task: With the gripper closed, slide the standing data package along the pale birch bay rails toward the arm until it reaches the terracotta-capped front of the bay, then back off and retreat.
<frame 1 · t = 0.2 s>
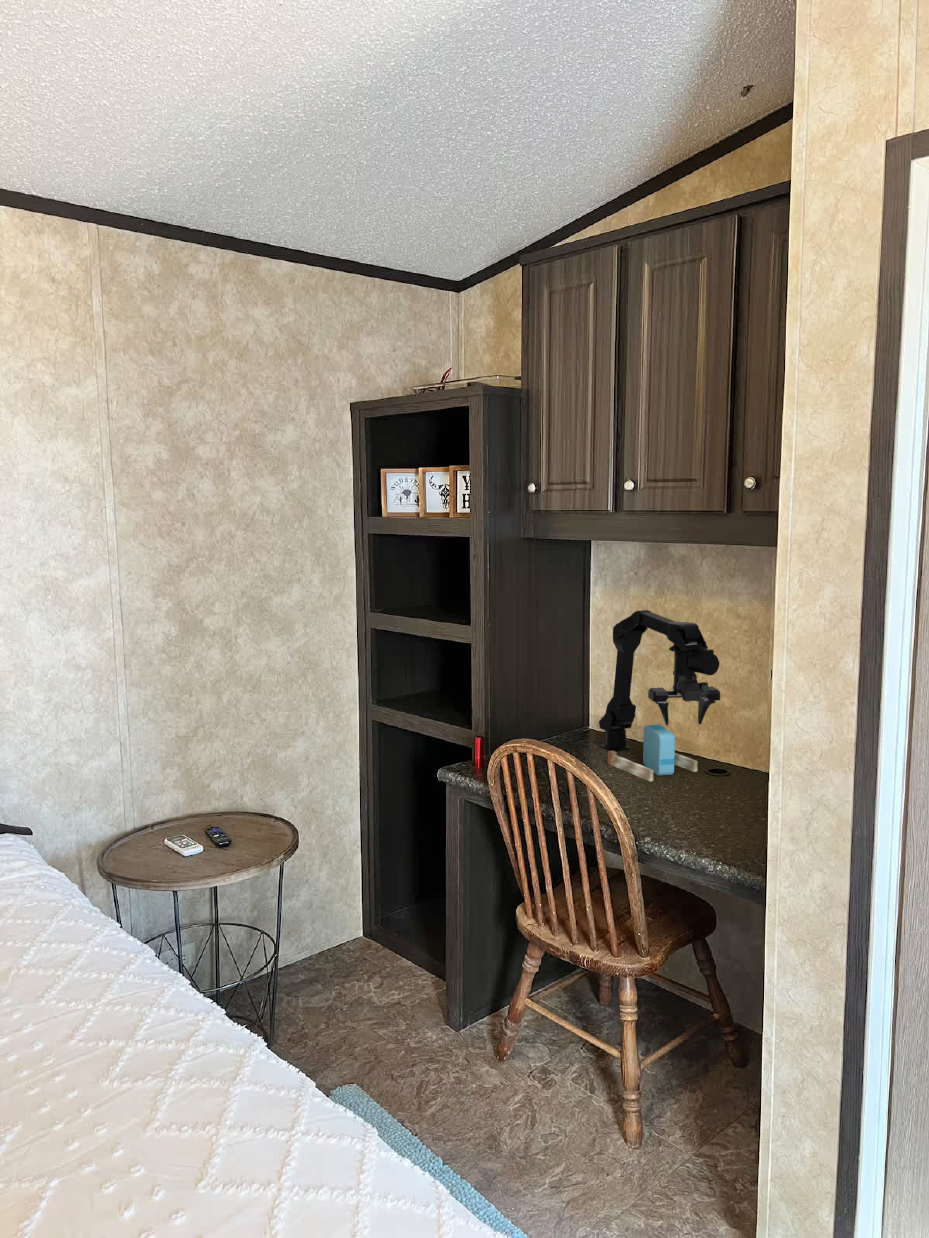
hand: (683, 724, 255), 15 cm above the table, fingers open, 9 cm apart
data package: (658, 770, 262), on the table
bay: (653, 767, 264), on the table
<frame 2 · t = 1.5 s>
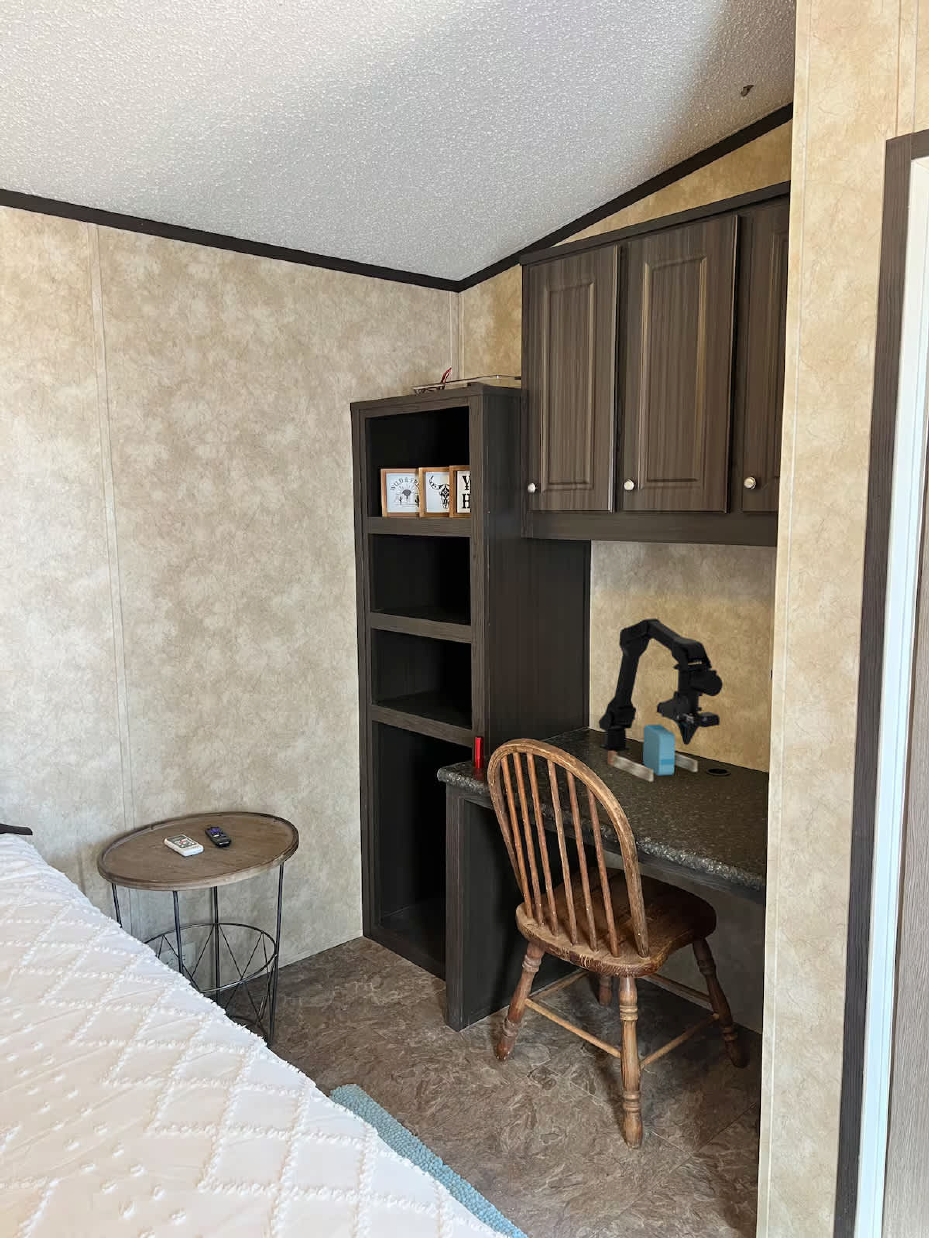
hand: (686, 744, 251), 10 cm above the table, fingers closed
nothing on the table moved.
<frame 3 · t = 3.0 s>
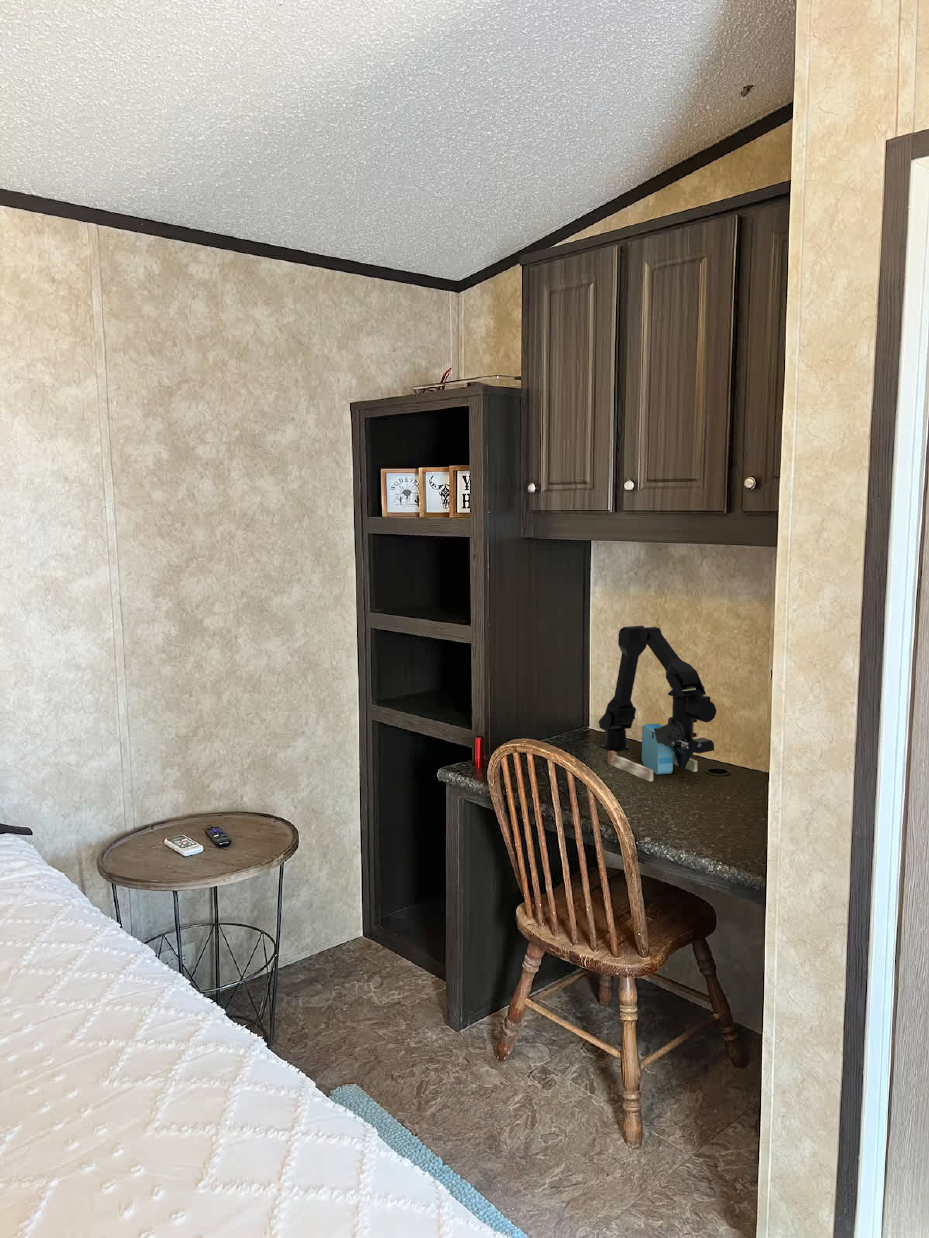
hand: (681, 769, 254), 3 cm above the table, fingers closed, pressing on data package
data package: (656, 769, 263), on the table, touching gripper
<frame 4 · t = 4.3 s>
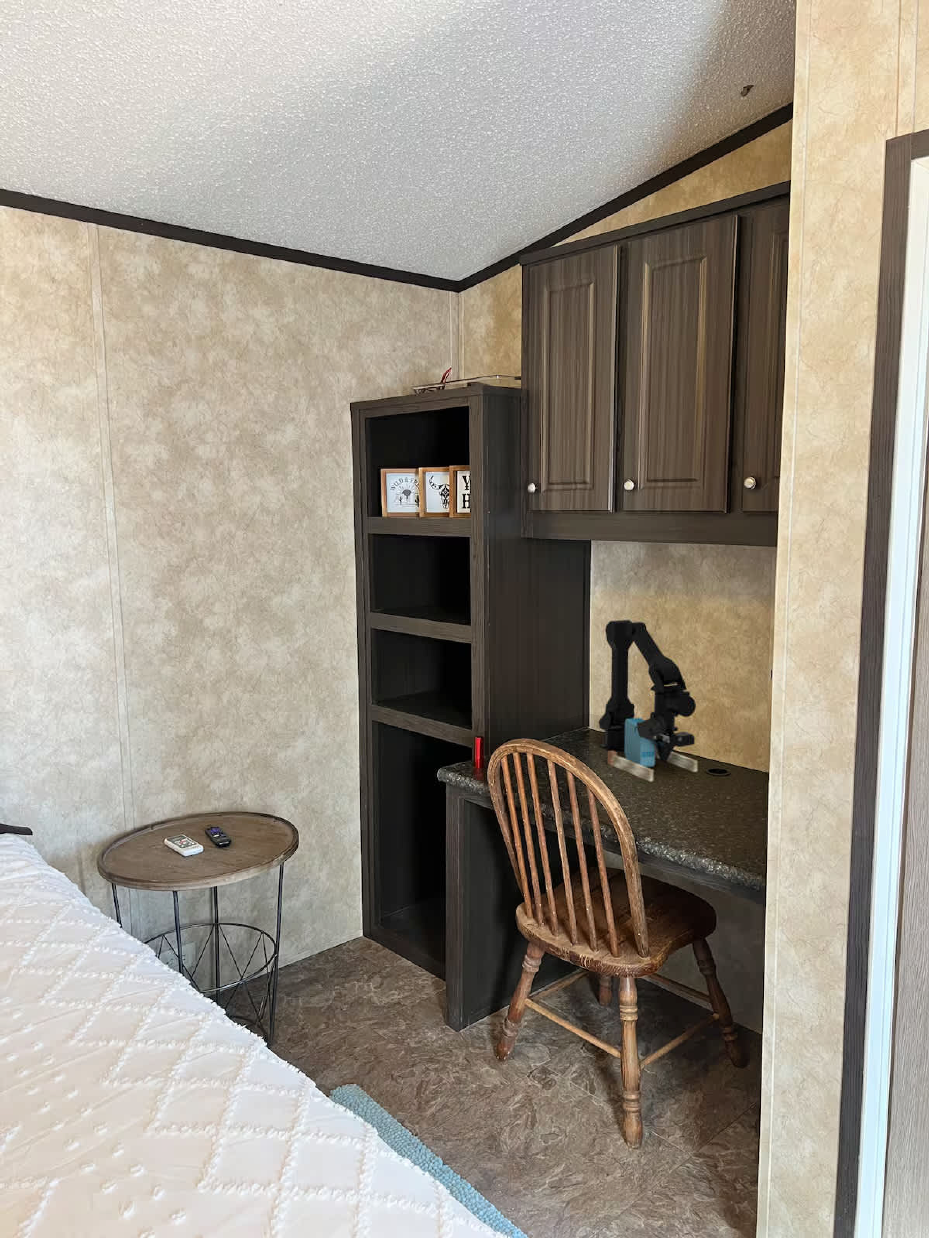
hand: (663, 763, 260), 3 cm above the table, fingers closed
data package: (639, 763, 269), on the table, touching gripper
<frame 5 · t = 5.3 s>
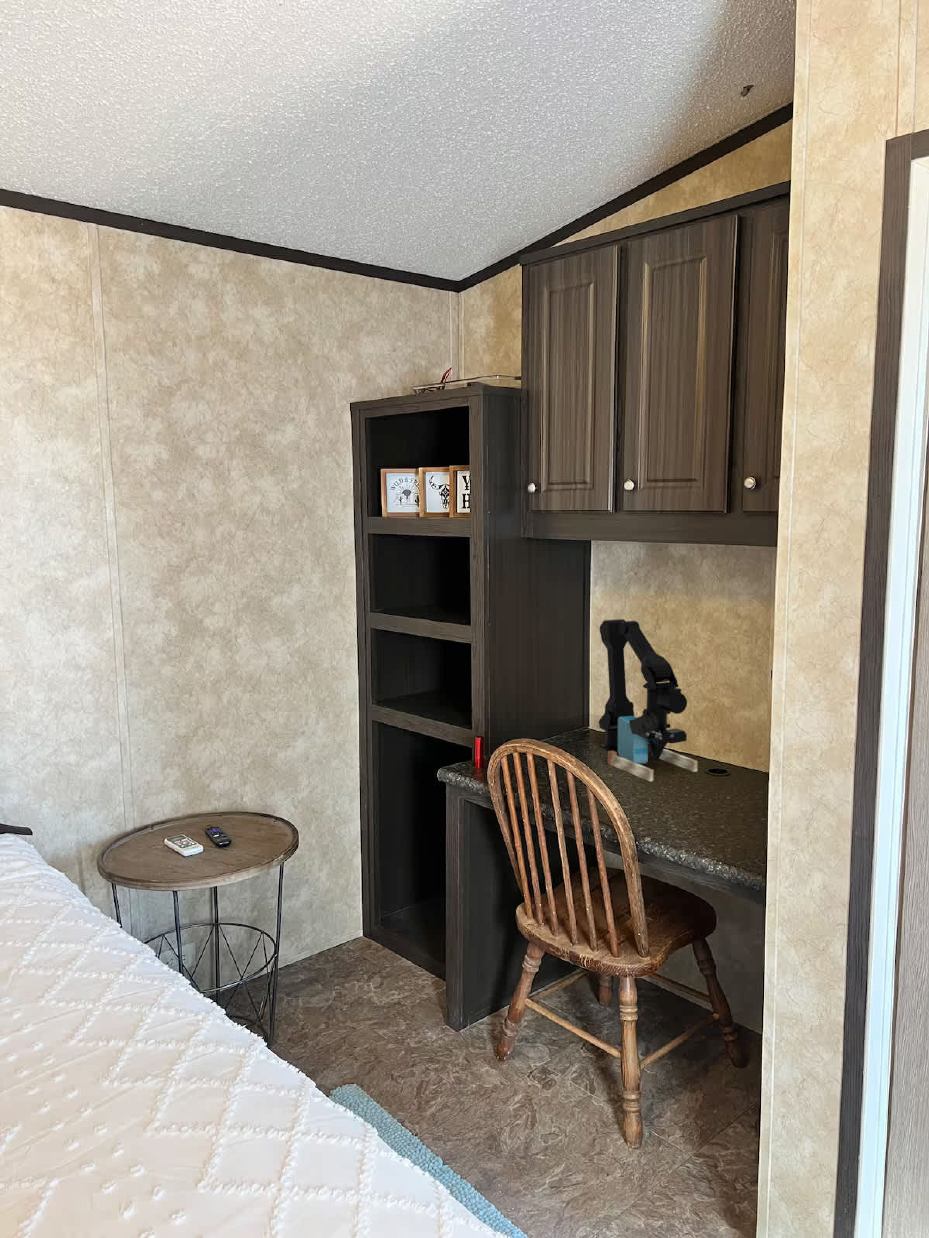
hand: (656, 759, 263), 3 cm above the table, fingers closed
data package: (632, 760, 272), on the table, touching gripper
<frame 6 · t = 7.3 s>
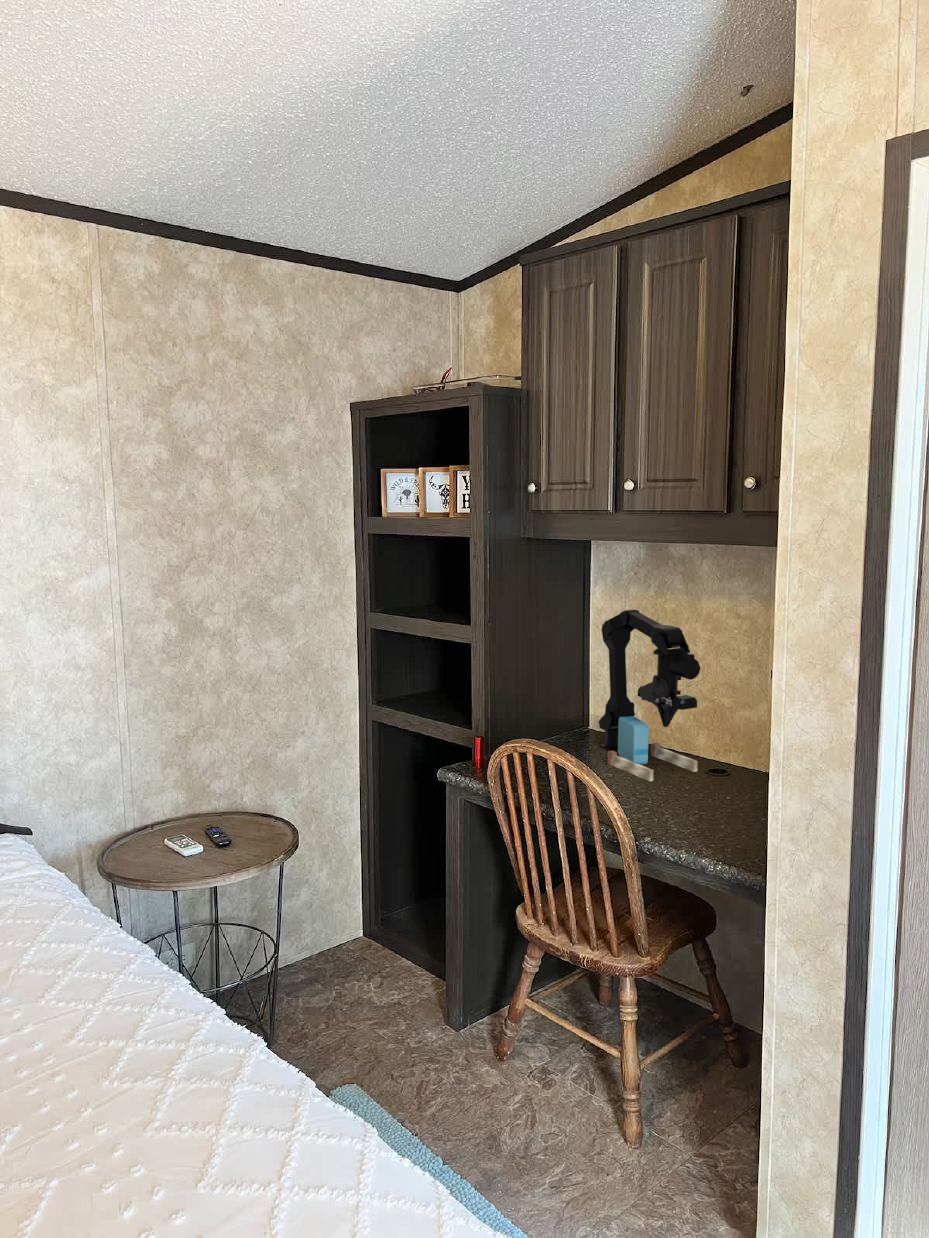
hand: (665, 726, 260), 13 cm above the table, fingers closed
data package: (632, 760, 272), on the table
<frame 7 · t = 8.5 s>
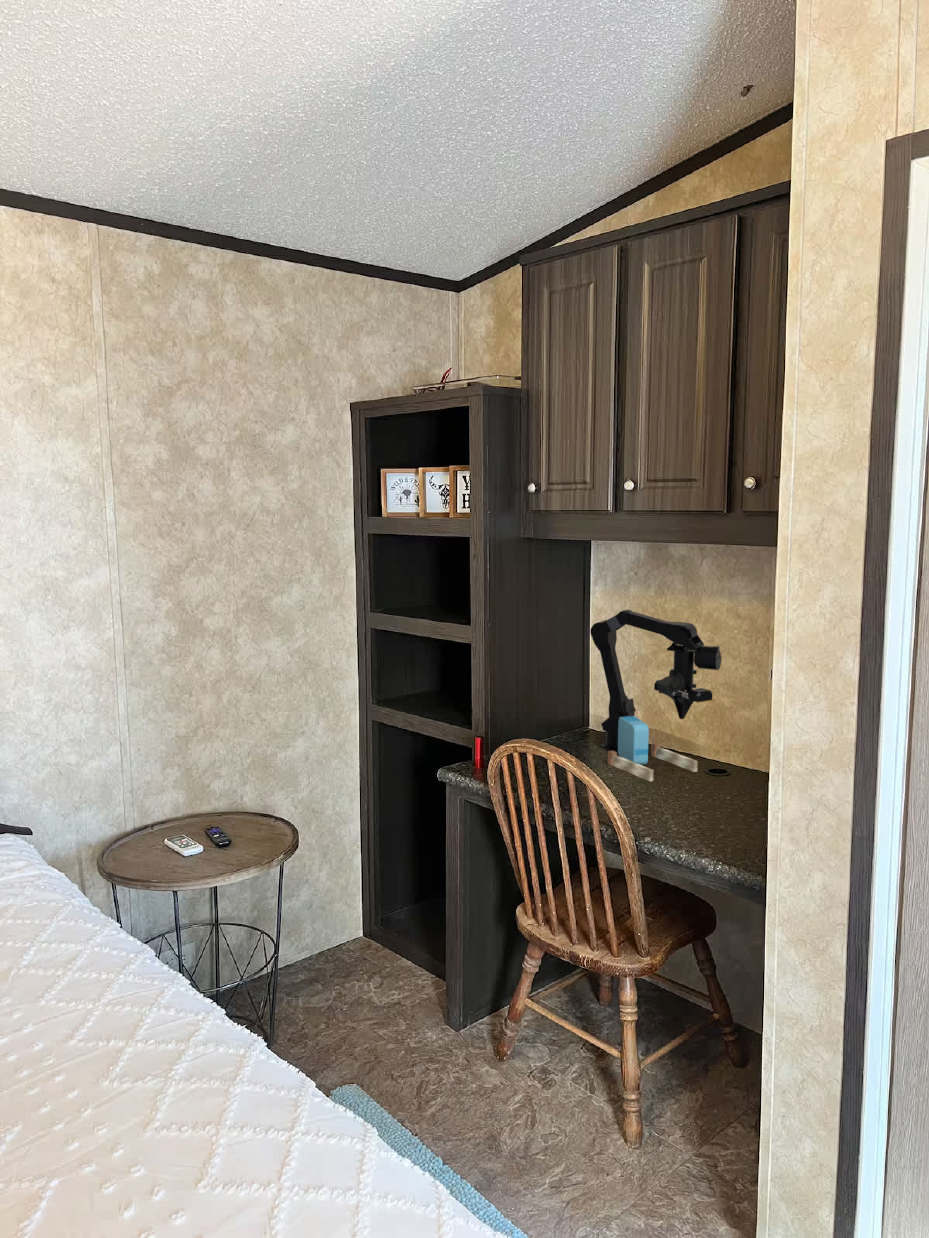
hand: (681, 718, 271), 12 cm above the table, fingers closed
nothing on the table moved.
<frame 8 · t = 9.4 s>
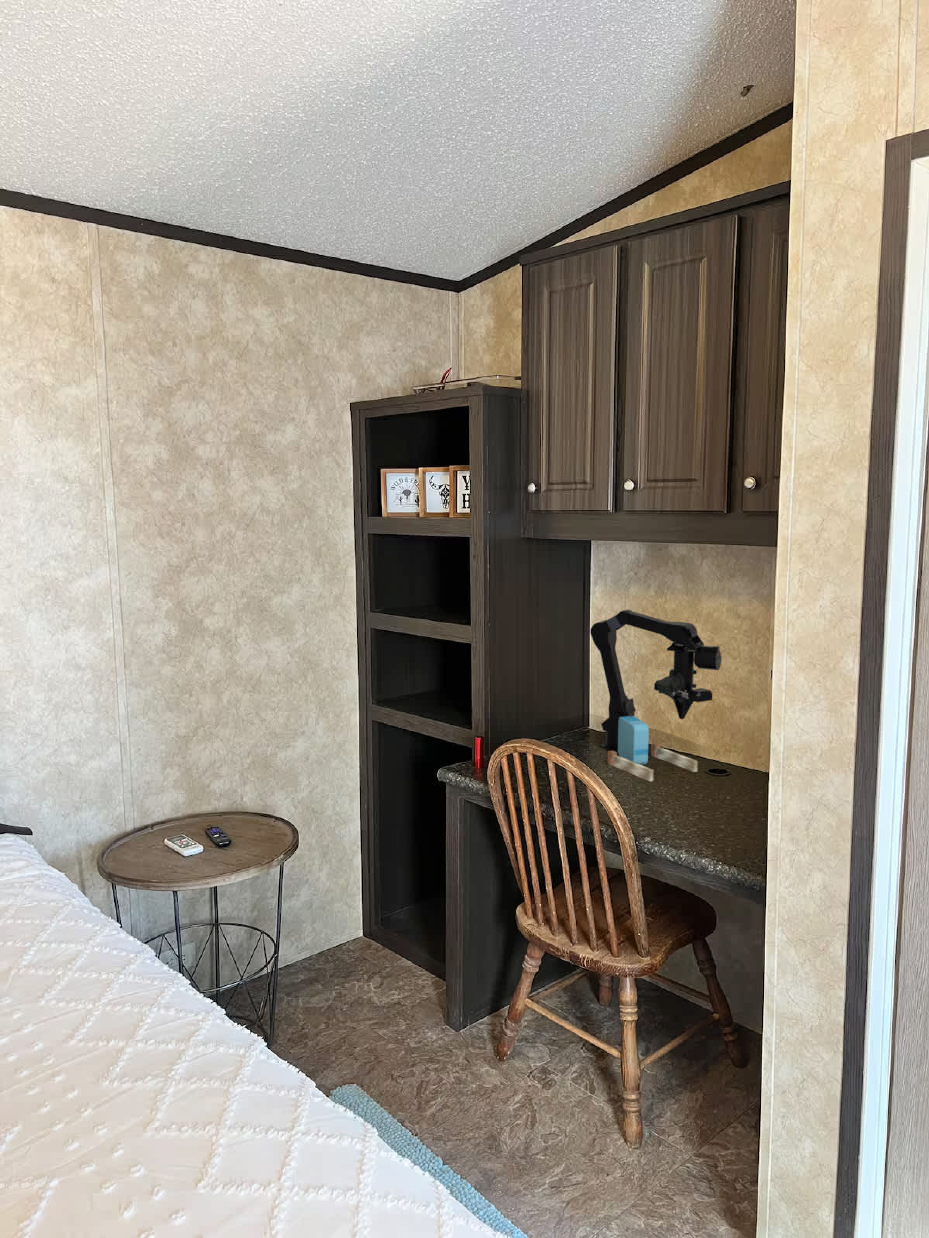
hand: (681, 718, 271), 12 cm above the table, fingers closed
nothing on the table moved.
at the end: data package inside the target area (2.9 cm from its centre), on the table; data package tilted 0°; data package moved 10.9 cm from its start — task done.
